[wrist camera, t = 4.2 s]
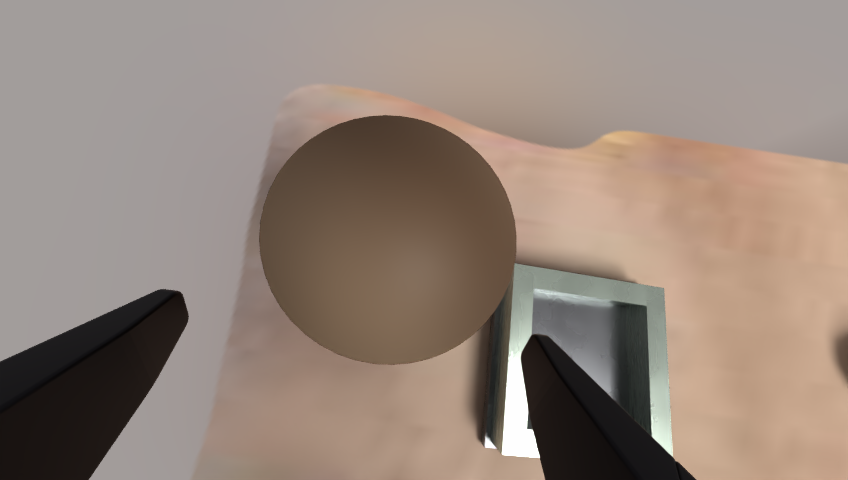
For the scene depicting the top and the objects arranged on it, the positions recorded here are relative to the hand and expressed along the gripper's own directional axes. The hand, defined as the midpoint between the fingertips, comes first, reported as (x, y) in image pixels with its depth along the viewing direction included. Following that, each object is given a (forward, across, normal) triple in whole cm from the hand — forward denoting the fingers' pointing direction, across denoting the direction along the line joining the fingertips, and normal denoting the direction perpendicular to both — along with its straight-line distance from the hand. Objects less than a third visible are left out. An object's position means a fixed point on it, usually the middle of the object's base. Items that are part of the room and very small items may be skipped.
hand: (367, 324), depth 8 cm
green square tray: (+6, -12, +7) cm, 15 cm away
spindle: (+8, 0, +5) cm, 10 cm away
